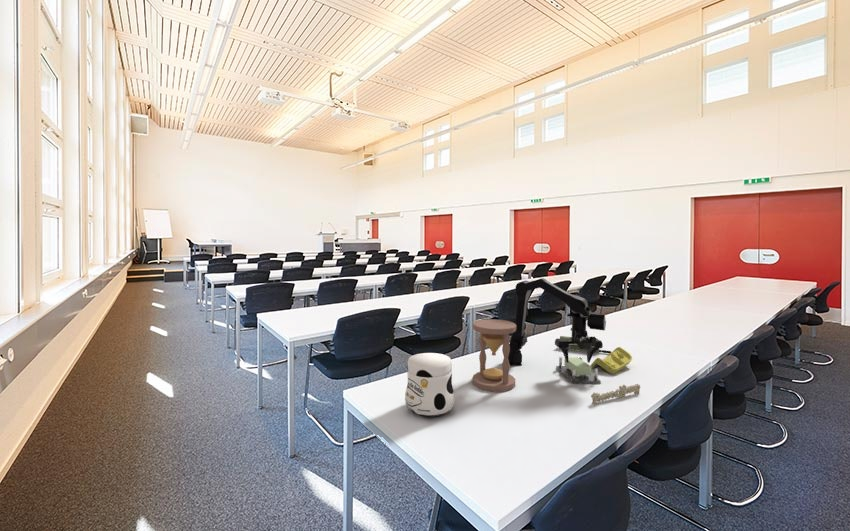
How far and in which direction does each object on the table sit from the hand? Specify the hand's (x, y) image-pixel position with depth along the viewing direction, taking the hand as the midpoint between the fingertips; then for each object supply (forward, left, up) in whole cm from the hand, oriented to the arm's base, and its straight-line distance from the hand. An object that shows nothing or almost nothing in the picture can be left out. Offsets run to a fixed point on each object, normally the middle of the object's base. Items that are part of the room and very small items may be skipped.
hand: (577, 362), depth 165 cm
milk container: (-65, -31, -6) cm, 72 cm away
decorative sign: (+5, -23, -6) cm, 24 cm away
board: (0, 0, -3) cm, 3 cm away
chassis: (0, 0, -6) cm, 6 cm away
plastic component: (+21, +10, -6) cm, 24 cm away
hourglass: (-38, -8, -6) cm, 39 cm away
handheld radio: (+18, +34, -6) cm, 39 cm away
